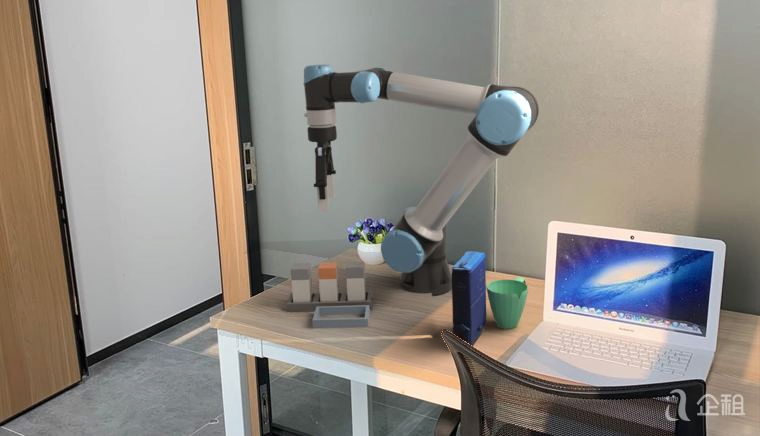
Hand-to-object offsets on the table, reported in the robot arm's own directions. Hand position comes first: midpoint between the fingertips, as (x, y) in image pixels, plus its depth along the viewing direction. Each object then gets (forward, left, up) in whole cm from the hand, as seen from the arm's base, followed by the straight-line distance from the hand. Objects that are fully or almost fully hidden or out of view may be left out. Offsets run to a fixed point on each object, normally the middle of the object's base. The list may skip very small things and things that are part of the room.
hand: (327, 204), depth 184 cm
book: (-35, +29, -26) cm, 53 cm away
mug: (-46, +20, -26) cm, 57 cm away
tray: (-4, +19, -26) cm, 33 cm away
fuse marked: (0, +9, -25) cm, 27 cm away
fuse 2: (-7, +9, -25) cm, 28 cm away
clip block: (0, +9, -26) cm, 28 cm away
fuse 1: (+7, +9, -25) cm, 28 cm away
